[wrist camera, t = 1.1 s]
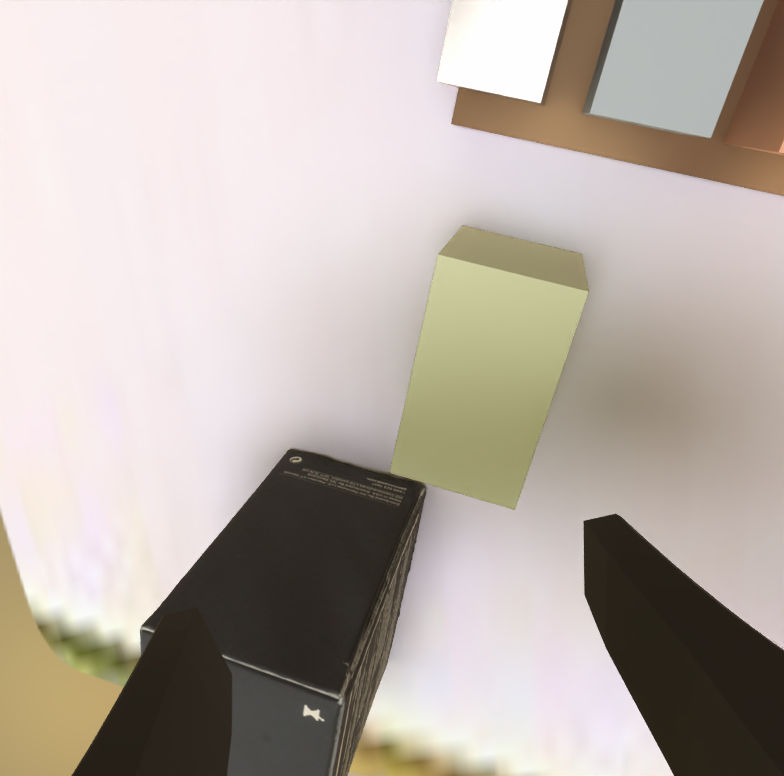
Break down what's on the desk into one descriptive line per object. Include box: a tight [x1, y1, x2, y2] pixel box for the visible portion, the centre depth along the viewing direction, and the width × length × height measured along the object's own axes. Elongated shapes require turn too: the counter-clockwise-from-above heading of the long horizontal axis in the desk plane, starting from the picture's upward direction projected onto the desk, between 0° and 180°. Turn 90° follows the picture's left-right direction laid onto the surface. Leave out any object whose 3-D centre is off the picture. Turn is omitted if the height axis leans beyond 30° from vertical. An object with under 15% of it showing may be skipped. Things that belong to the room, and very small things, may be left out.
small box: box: [140, 450, 426, 776], centre depth 23 cm, size 11×6×10 cm, turn 171°
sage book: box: [389, 226, 589, 510], centre depth 20 cm, size 4×7×5 cm, turn 169°
